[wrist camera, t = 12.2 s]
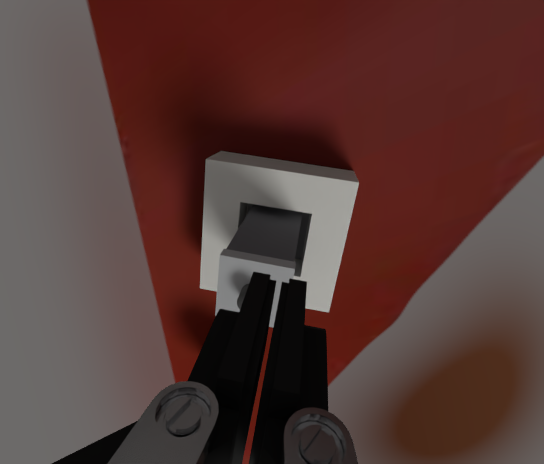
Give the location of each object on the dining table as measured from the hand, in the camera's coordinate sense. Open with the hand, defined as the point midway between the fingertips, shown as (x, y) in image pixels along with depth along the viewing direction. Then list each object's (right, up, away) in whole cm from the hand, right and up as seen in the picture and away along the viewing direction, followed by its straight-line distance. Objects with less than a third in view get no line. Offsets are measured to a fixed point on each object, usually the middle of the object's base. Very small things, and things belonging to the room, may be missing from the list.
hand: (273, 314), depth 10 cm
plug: (0, +3, +17) cm, 18 cm away
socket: (0, +3, +19) cm, 19 cm away
